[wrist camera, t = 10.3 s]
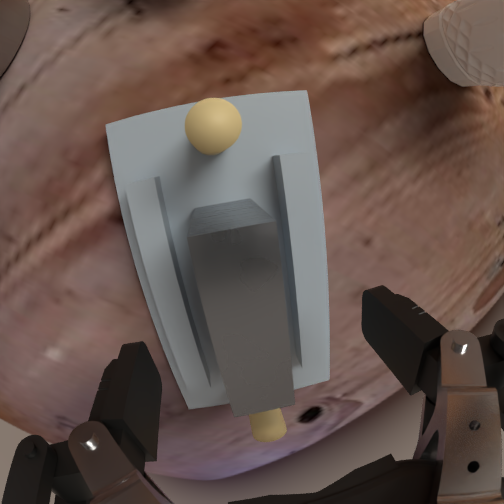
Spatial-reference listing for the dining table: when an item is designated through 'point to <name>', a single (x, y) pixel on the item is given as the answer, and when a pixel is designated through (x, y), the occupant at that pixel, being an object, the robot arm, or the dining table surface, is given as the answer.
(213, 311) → the gray rectangular block
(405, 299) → the robot arm
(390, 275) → the dining table surface
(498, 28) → the white cup
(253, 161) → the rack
